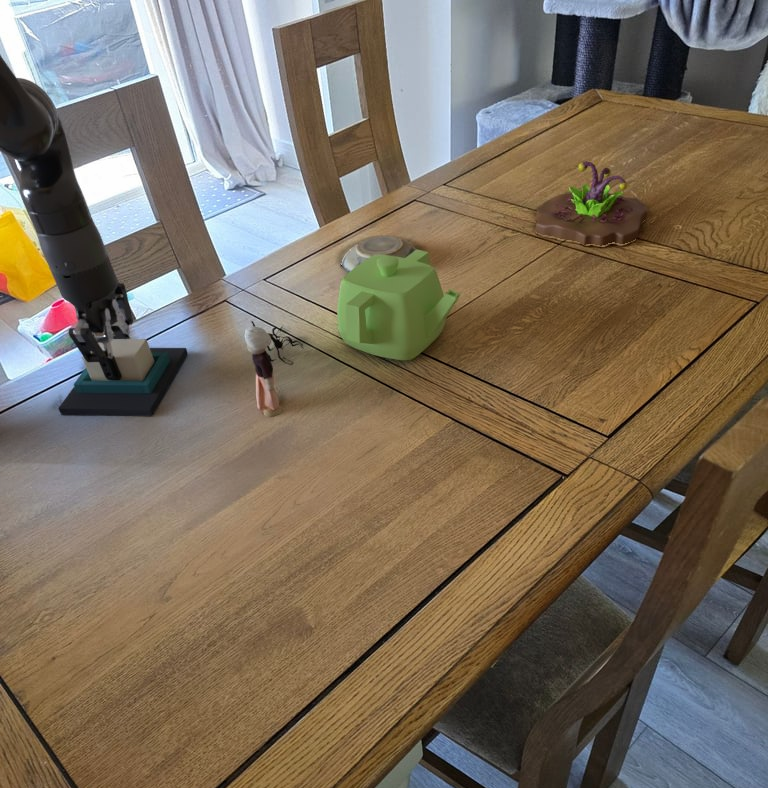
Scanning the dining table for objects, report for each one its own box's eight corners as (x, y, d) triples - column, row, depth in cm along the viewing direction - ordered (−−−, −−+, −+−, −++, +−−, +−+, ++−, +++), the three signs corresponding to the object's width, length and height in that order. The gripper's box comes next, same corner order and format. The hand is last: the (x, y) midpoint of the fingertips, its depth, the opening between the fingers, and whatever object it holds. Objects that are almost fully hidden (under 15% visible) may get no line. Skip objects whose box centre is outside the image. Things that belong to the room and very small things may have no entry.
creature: (300, 344, 111) (249, 342, 109) (302, 313, 108) (250, 310, 106) (305, 370, 106) (252, 369, 104) (307, 339, 102) (252, 336, 100)
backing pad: (61, 415, 100) (53, 399, 98) (105, 354, 111) (99, 339, 109) (152, 416, 98) (146, 400, 96) (188, 354, 109) (183, 339, 107)
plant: (553, 198, 141) (559, 139, 133) (652, 209, 134) (664, 147, 126) (522, 240, 129) (526, 177, 121) (629, 253, 122) (641, 187, 114)
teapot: (488, 327, 108) (491, 245, 99) (421, 393, 97) (418, 309, 88) (390, 301, 116) (384, 224, 107) (318, 361, 105) (304, 280, 96)
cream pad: (91, 381, 102) (81, 357, 99) (105, 362, 106) (95, 338, 103) (143, 381, 101) (133, 357, 98) (154, 362, 105) (146, 338, 102)
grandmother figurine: (250, 400, 99) (229, 320, 90) (275, 391, 100) (257, 311, 91) (268, 428, 94) (249, 346, 85) (295, 418, 95) (278, 337, 86)
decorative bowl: (349, 246, 133) (331, 282, 123) (348, 226, 131) (329, 262, 120) (427, 247, 131) (415, 284, 120) (427, 227, 128) (415, 264, 118)
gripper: (74, 235, 96) (117, 342, 108) (25, 284, 87) (78, 396, 99) (125, 233, 95) (162, 342, 107) (81, 283, 85) (127, 397, 98)
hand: (122, 367), depth 103 cm, fingers closed on cream pad, 5 cm apart
